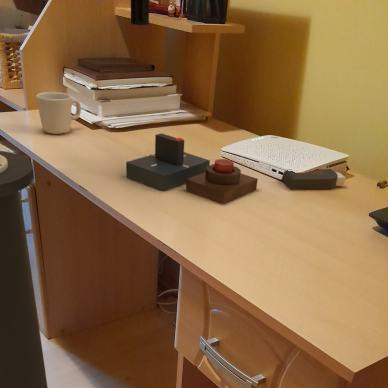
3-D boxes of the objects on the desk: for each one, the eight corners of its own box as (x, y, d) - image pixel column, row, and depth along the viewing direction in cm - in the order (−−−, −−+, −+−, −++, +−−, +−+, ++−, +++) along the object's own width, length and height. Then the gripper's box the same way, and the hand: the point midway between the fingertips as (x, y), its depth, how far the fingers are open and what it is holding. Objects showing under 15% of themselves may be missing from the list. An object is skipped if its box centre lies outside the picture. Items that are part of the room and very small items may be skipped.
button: (225, 175, 96) (226, 166, 95) (210, 170, 98) (210, 161, 97) (236, 171, 99) (237, 162, 98) (221, 166, 100) (222, 157, 99)
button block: (223, 204, 95) (225, 182, 92) (185, 190, 99) (186, 169, 97) (256, 189, 102) (259, 169, 99) (219, 177, 106) (221, 157, 104)
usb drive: (281, 180, 107) (283, 167, 105) (334, 179, 109) (337, 166, 108) (290, 189, 103) (292, 176, 101) (345, 188, 105) (348, 175, 104)
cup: (72, 124, 131) (70, 89, 126) (90, 131, 126) (88, 96, 121) (33, 129, 125) (29, 93, 120) (50, 137, 120) (47, 100, 115)
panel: (164, 191, 98) (164, 174, 96) (125, 177, 103) (125, 160, 101) (209, 174, 107) (210, 159, 105) (172, 162, 112) (172, 147, 110)
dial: (154, 157, 104) (155, 133, 101) (160, 156, 105) (161, 131, 102) (177, 165, 101) (178, 140, 98) (183, 163, 102) (184, 138, 99)
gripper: (92, -108, 87) (97, 20, 98) (158, -108, 80) (155, 30, 91) (124, -103, 92) (125, 19, 103) (189, -102, 85) (183, 28, 96)
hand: (139, 24), depth 97 cm, fingers closed
